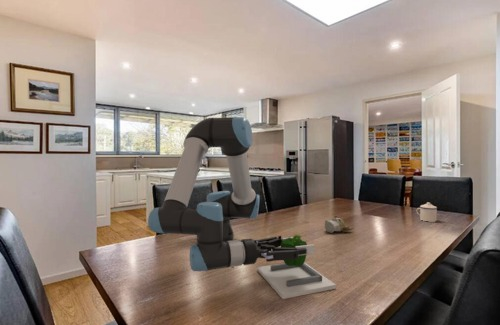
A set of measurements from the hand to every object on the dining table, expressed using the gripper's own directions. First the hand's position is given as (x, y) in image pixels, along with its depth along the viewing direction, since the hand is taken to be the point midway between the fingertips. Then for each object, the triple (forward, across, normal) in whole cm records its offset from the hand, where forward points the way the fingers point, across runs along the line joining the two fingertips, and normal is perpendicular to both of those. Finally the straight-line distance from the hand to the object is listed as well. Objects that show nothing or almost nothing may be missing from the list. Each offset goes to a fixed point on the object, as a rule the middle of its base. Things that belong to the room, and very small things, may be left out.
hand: (306, 244), depth 88 cm
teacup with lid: (+114, -44, -11) cm, 123 cm away
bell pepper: (-5, 0, -6) cm, 8 cm away
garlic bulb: (+45, -42, -11) cm, 63 cm away
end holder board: (-5, 0, -11) cm, 12 cm away
